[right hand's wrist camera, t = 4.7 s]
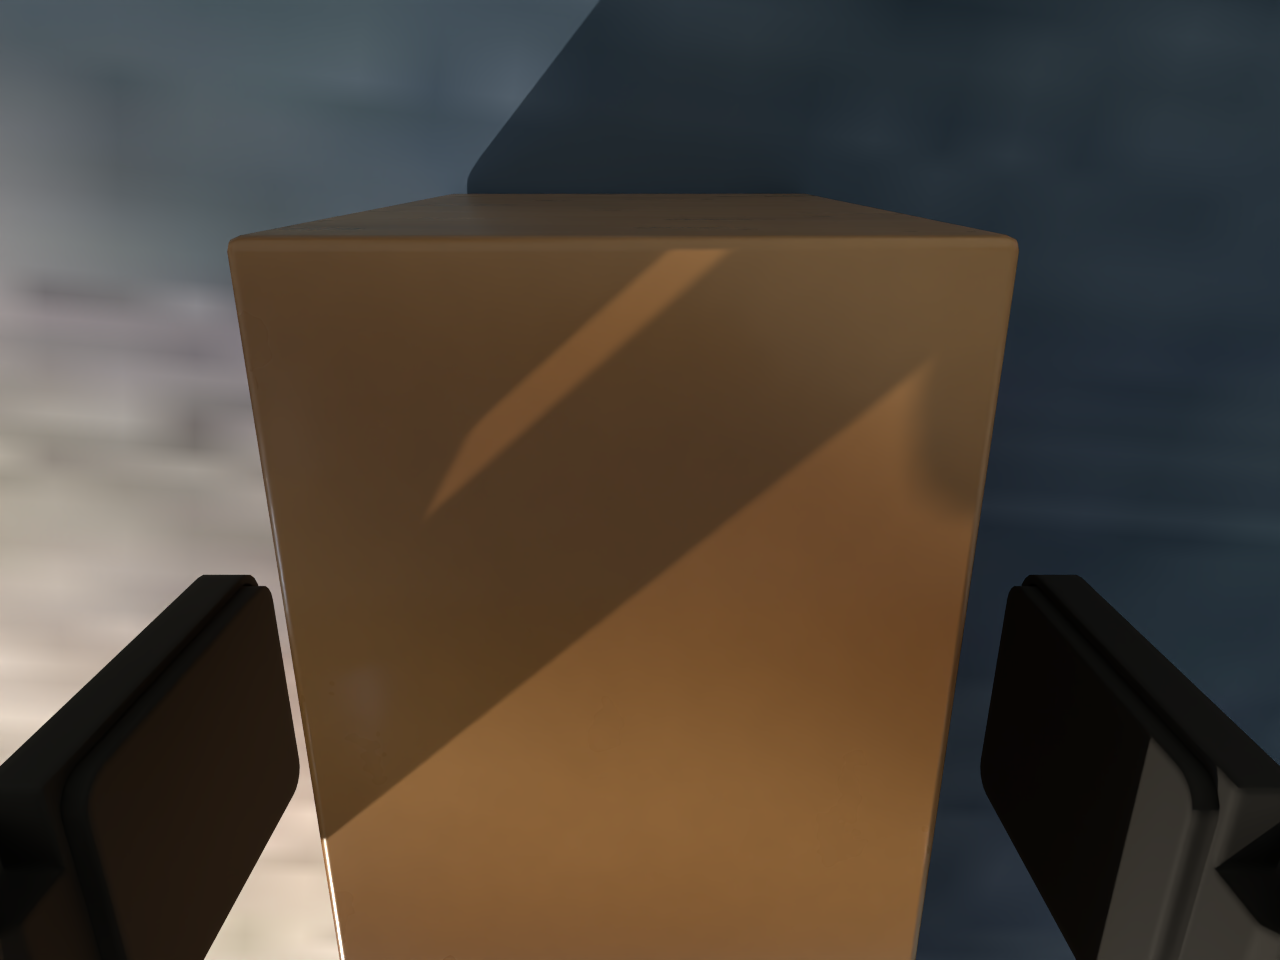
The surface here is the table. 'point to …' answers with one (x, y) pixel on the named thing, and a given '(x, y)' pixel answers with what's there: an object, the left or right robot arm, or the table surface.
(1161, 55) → the table surface
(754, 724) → the post
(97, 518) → the table surface
